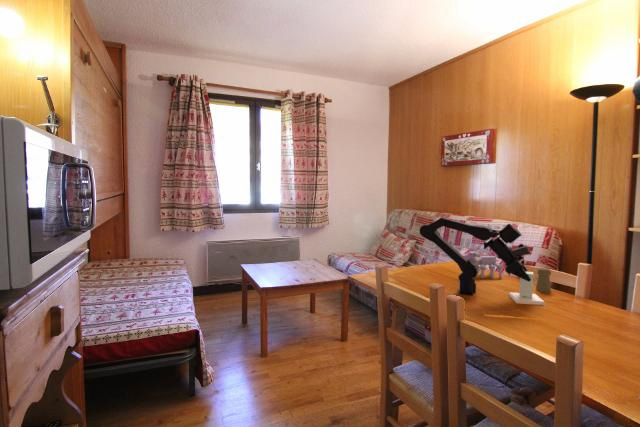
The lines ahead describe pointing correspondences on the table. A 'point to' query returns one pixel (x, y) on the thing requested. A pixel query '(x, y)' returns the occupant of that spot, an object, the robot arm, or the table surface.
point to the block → (526, 286)
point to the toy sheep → (485, 263)
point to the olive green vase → (543, 280)
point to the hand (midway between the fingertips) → (530, 279)
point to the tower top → (526, 299)
